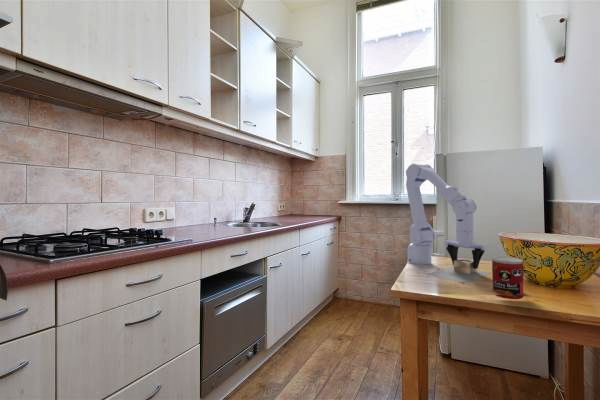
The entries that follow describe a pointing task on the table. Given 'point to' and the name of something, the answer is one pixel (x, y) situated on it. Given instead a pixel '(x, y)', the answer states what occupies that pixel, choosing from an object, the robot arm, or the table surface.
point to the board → (457, 274)
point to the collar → (464, 266)
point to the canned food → (507, 277)
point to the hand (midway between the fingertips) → (465, 266)
